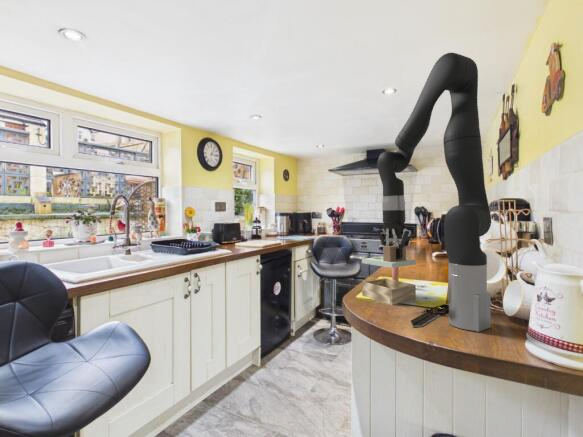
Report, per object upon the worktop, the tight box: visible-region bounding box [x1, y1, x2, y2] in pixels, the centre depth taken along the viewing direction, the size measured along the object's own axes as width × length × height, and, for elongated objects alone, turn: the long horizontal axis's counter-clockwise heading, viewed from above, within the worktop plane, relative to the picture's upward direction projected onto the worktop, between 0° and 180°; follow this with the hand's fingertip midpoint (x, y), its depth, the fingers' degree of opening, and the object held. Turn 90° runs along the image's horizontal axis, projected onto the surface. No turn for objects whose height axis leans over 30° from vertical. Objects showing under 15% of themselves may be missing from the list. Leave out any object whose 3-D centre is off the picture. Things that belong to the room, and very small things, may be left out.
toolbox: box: [361, 277, 417, 306], centre depth 111 cm, size 14×12×6 cm
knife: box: [410, 303, 449, 328], centre depth 94 cm, size 25×6×1 cm, turn 129°
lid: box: [361, 244, 417, 269], centre depth 111 cm, size 14×12×6 cm
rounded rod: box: [391, 267, 399, 281], centre depth 125 cm, size 2×2×12 cm
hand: (394, 258), depth 108 cm, fingers closed on lid, 3 cm apart
